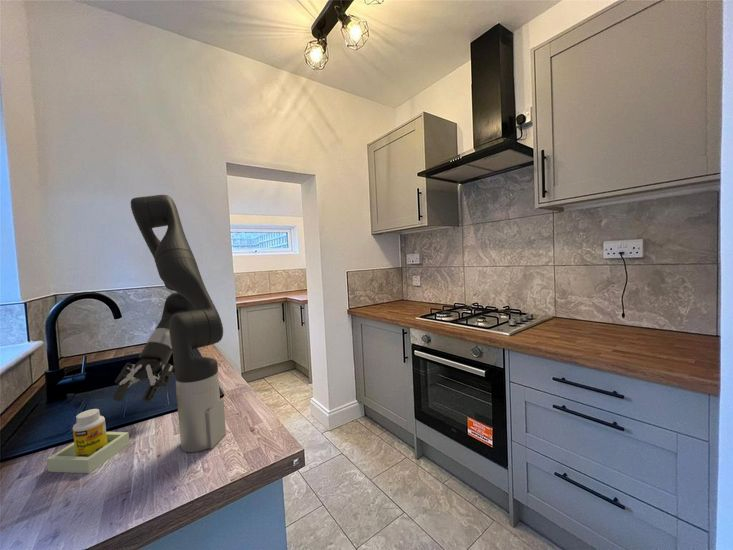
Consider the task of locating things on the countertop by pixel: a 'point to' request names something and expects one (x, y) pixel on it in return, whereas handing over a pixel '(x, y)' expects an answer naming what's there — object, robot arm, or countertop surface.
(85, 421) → the supplement bottle
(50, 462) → the socket block
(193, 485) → the countertop surface
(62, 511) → the countertop surface
